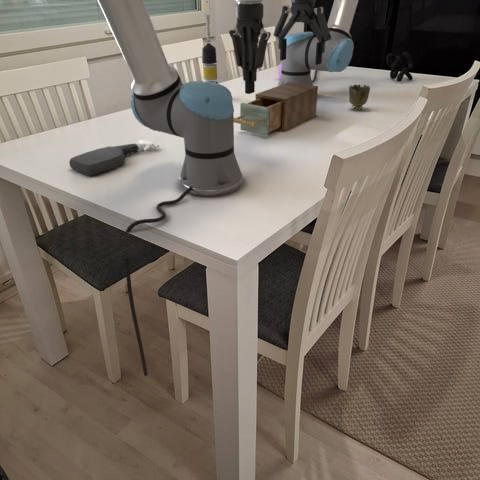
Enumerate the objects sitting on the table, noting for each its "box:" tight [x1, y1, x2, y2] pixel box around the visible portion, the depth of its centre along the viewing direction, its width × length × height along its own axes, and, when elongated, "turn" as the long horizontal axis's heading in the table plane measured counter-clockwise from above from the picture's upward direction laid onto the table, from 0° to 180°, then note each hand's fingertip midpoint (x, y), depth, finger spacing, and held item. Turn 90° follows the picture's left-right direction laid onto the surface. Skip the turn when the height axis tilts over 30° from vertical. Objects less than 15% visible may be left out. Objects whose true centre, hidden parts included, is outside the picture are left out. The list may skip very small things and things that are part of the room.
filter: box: [201, 14, 219, 84], centre depth 171 cm, size 6×6×30 cm
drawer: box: [234, 98, 283, 137], centre depth 142 cm, size 25×10×8 cm, turn 142°
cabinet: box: [255, 82, 319, 132], centre depth 150 cm, size 20×11×10 cm, turn 142°
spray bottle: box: [68, 139, 160, 177], centre depth 124 cm, size 3×11×24 cm
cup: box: [348, 84, 371, 111], centre depth 160 cm, size 7×7×8 cm
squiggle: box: [385, 51, 414, 83], centre depth 198 cm, size 11×10×15 cm
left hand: (249, 92), depth 132 cm, fingers closed
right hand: (300, 62), depth 148 cm, fingers open, 13 cm apart
